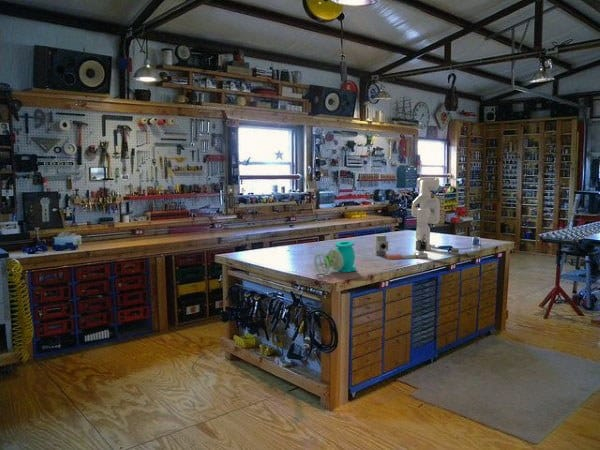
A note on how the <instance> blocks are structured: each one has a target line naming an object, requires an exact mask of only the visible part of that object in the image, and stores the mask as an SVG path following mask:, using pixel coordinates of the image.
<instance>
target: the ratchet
mask: <svg viewBox="0 0 600 450" xmlns="http://www.w3.org/2000/svg"><path fill="white" fill-rule="evenodd" d="M428 256H429V254H428V253H427V252H425V251H417V252H414V253H413V254H398V253H397V254H386V255H384V259H386V260H401V259H403V260H404V259H418V260H419V259H420V260H422V259H423V260H425V259H428Z"/></svg>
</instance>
